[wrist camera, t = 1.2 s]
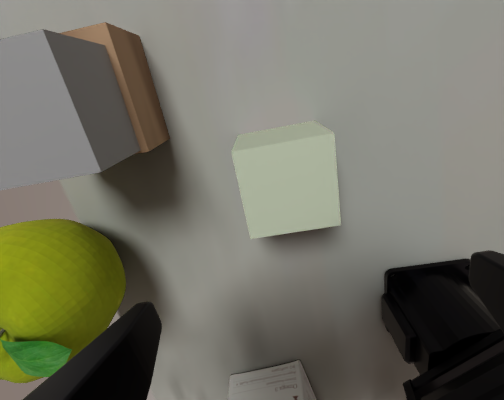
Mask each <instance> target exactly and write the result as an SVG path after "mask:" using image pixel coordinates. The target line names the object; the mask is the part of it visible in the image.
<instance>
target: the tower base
mask: <svg viewBox="0 0 504 400" xmlns="http://www.w3.org/2000/svg"><path fill="white" fill-rule="evenodd" d="M59 34H63V35H67V36H71V37H75V38H79V39H83V40H87V41H91V42H95V43H98V44H102V45H105V47H106V49H107V52H108V55H109V58H110V61H111V64H112V67H113V70H114V73H115V76H116V79H117V82H118V85H119V87H120V90H121V93H122V96H123V99H124V102H125V105H126V108H127V111H128V114H129V117H130V120H131V123H132V125H133V128H134V131H135V134H136V137H137V140H138V143H139V146H140V149H141V150H140V151H138V152H137V153H135V154H138V153H144V152H149V151H151V150H152V149H154V148H155V147H157V146H159V145H160V144H162V143H164V142H165V141H167V140H168V139H170V136H169V133H168V130H167V126H166V123H165V120H164V117H163V113H162V110H161V107H160V103H159V100H158V97H157V93H156V90H155V87H154V83H153V80H152V77H151V73H150V70H149V67H148V63H147V60H146V57H145V54H144V50H143V47H142V44H141V40H140V37H139V36H138V35H136V34H133V33H131V32H128V31H126V30H123V29H121V28H118V27H116V26H113V25H111V24H108V23H106V22H105V23H101V24H96V25H92V26H88V27H84V28H80V29H75V30H71V31H67V32H63V33H59Z"/></svg>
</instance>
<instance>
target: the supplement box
mask: <svg viewBox="0 0 504 400" xmlns="http://www.w3.org/2000/svg"><path fill="white" fill-rule="evenodd" d="M227 400H316V397H315V395H314V392H313V390H312V388H311V385H310V383H309V381H308V378H307V376H306V373H305V371H304V369H303V366H302V364H301V362H300V360H297V361H294V362H291V363H287V364H283V365H279V366H275V367H270V368H265V369H260V370H256V371H251V372H246V373H241V374H234V375H231V376H230V381H229V390H228V399H227Z"/></svg>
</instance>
